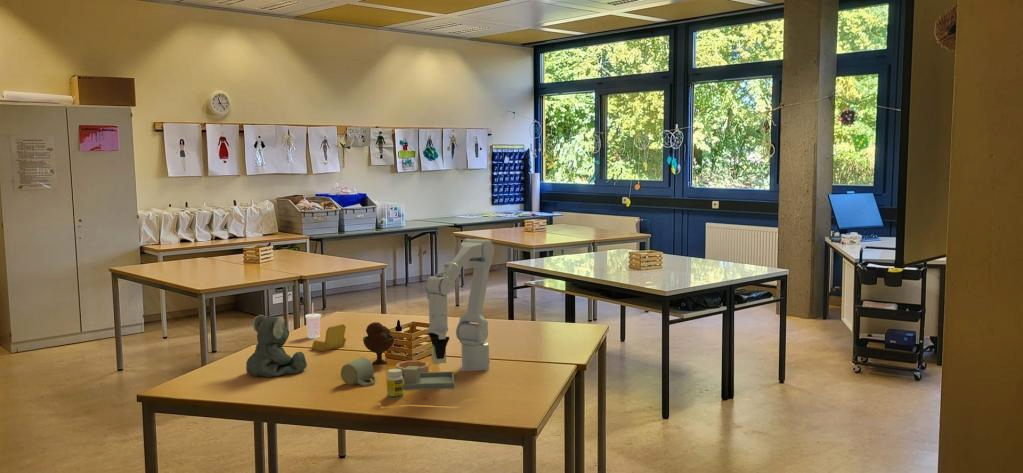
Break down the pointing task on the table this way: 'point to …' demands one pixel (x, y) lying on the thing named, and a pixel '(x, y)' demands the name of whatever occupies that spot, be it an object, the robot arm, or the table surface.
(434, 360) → the sage green cube
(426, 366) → the bowl
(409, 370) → the beige square block
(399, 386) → the supplement bottle
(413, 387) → the parts tray
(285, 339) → the koala plush
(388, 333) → the ice cream bowl
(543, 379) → the table surface
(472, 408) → the table surface
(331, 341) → the yellow bent piece
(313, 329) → the beverage cup
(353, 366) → the ceramic mug
